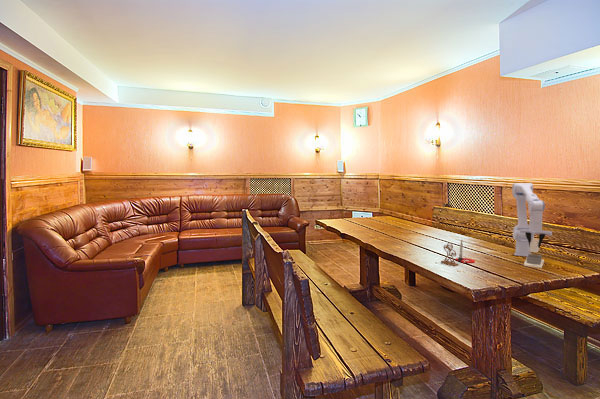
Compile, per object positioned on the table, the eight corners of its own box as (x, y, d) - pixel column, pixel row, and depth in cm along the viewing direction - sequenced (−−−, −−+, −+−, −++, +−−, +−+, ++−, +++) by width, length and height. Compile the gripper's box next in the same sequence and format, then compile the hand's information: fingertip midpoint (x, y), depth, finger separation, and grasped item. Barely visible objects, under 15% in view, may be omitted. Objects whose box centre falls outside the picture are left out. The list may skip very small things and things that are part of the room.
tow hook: (467, 259, 194) (454, 260, 192) (468, 238, 193) (455, 238, 191) (478, 263, 186) (464, 264, 183) (479, 241, 185) (466, 241, 182)
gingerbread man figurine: (458, 265, 181) (459, 244, 180) (453, 266, 179) (454, 245, 178) (445, 261, 189) (445, 241, 188) (440, 262, 187) (440, 242, 186)
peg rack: (526, 259, 190) (527, 252, 190) (543, 261, 185) (544, 254, 184) (523, 265, 178) (524, 258, 177) (542, 268, 173) (542, 260, 172)
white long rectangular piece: (531, 247, 186) (532, 238, 186) (539, 248, 184) (539, 239, 184) (529, 251, 177) (530, 242, 177) (537, 252, 175) (538, 243, 174)
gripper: (519, 222, 181) (518, 246, 182) (552, 224, 172) (550, 250, 173) (520, 220, 186) (519, 244, 187) (552, 222, 177) (551, 247, 178)
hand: (534, 246), depth 180 cm, fingers closed on white long rectangular piece, 3 cm apart
